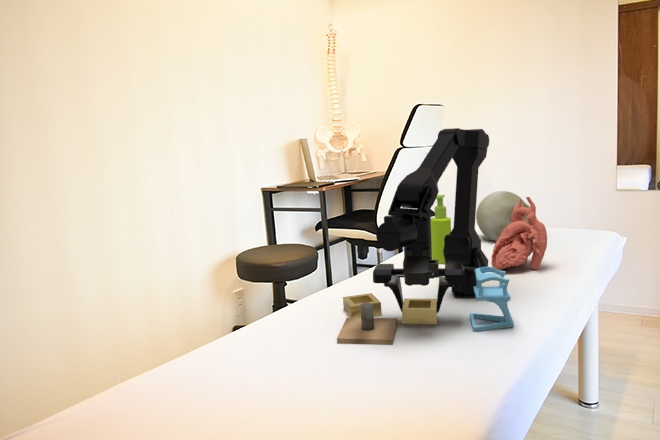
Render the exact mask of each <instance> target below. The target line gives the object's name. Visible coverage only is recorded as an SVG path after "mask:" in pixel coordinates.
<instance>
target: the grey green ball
mask: <svg viewBox="0 0 660 440" xmlns="http://www.w3.org/2000/svg"><path fill="white" fill-rule="evenodd" d="M520 199H522V197H520V196H519V195H517V194H516V193H514V192H510V191H507V190H498V191H495V192H492V193H490V194H488V195H486V197H484V198H483V199H482V200H480V203H479V204H478V207H476V216H475V221H476V224H477V226H478V229H479V230H480V232H481V233H482V234H483V235H484V236H485V237H486V238H487V239H488V240H491V241H493V242H496V241H497V240H498V238H499V237H500V235H501V233H502V231H503V229H505V228H506V227H507V226H508V225H509V224H511V215H512V212H513V209H514V207H515V205H516V204H517V203H518V204H519V201H520ZM521 206H522V207H527V208H530V206H531V205H530V204H527V203H526V202H525V201H524V199H522V204H521ZM522 217H523V219H524V220H525V221H526V222H529V221H528V220H527V219H526V217H527V216H526V215H525V214H522Z"/></svg>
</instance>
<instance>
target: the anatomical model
mask: <svg viewBox="0 0 660 440" xmlns="http://www.w3.org/2000/svg"><path fill="white" fill-rule="evenodd" d="M525 198H526V200H527V202H528V203H529V204H528V205H529V206H530V208H527V207H522V206H521V204H522V200H523V199H522V198H521V199H520V201H519V204H518V203H517V204H516V205H515V207H514V209H513V212H512V215H511V224H509V225H508V226H507V227H506V228H505V229H503V231H502V233H501V235H500V237H499V238H498V240H497V241H495V244H494V247H493V250H492V254H491V255H490V257H491V261H490V263H491V266H492V268H495V269H497V270H500V271H503V270H504V269H507V268H510V267H518V266H520V265H523V264H527V262H528V259H529V258H528V257H530V256H531V259H530V262H529V263H530V264H529V265H530V267H531V268H532V269H533V270H539V268H540V266H541V264H542V261H543V259H544V256H545V253H546V250H547V247H548V234H547V233H548V232H547V228H546V225H545V224H544V223H543V222H542V221H540V220H539V219H538V218H537V215H536V211H537V206H536V205H535V203H534V202H533V200H532V199H531V197H530V196H526V197H525ZM522 214H525V215H526V216H527V217H526V219H527V220H528V221H529V222H526V221H525V220H524V219H523V217H522ZM531 254H532V255H531Z"/></svg>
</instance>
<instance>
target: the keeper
mask: <svg viewBox="0 0 660 440" xmlns="http://www.w3.org/2000/svg"><path fill="white" fill-rule="evenodd" d="M360 308H361V318H350V317H346V318H345V320H344V322H343V324H342V327H341V329H340V331H339V333H338V335H337V337H336V343H337V344H351V345H352V344H355V345H357V344H358V345H359V344H360V345H391V346H392V345H393V344H394V339H395V334H396V330H397V325H398V318H396V317H394V318H393V317H392V318H391V317H390V318H389V317H375V316H374V313H373V304H372V303H363V304H361V305H360Z"/></svg>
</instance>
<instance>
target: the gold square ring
mask: <svg viewBox="0 0 660 440" xmlns="http://www.w3.org/2000/svg"><path fill="white" fill-rule="evenodd" d="M436 306H437V298H409V297H408V298H404V297H403V307H402V312H401V318H402V320H401V321H402V324H413V325H414V324H415V325H437V324H438V313H437V307H436Z"/></svg>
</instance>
